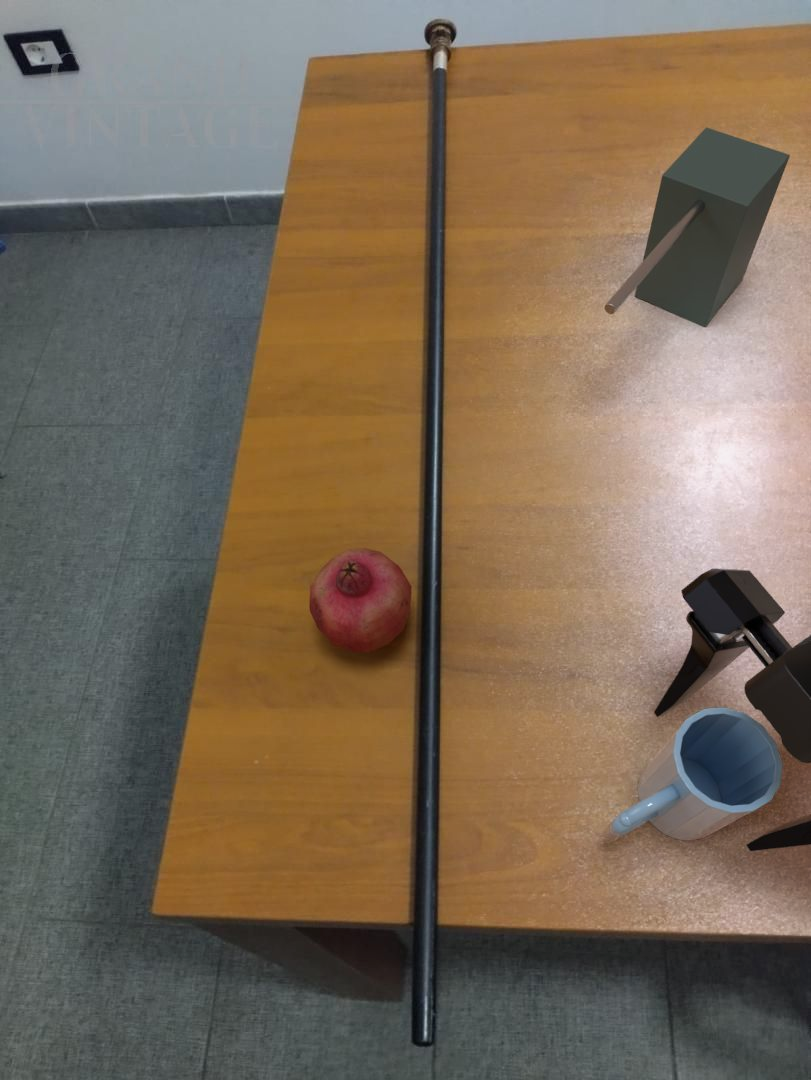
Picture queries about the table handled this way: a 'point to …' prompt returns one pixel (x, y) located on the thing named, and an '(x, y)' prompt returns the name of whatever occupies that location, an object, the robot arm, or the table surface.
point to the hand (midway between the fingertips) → (701, 777)
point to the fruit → (360, 600)
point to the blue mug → (705, 777)
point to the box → (705, 225)
